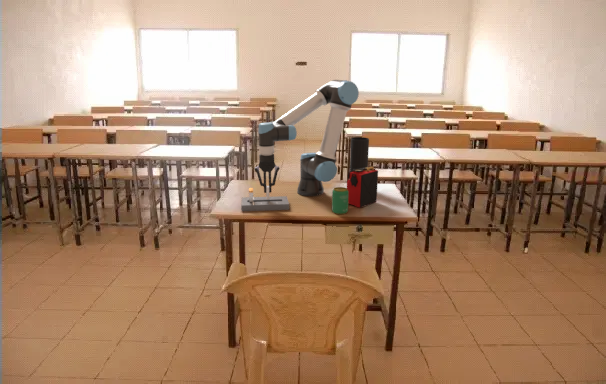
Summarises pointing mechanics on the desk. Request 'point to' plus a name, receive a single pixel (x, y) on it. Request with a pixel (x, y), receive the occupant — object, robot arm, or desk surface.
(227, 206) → the desk surface
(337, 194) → the beverage can
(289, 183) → the desk surface
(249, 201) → the fader
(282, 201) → the console
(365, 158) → the vase
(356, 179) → the radio
